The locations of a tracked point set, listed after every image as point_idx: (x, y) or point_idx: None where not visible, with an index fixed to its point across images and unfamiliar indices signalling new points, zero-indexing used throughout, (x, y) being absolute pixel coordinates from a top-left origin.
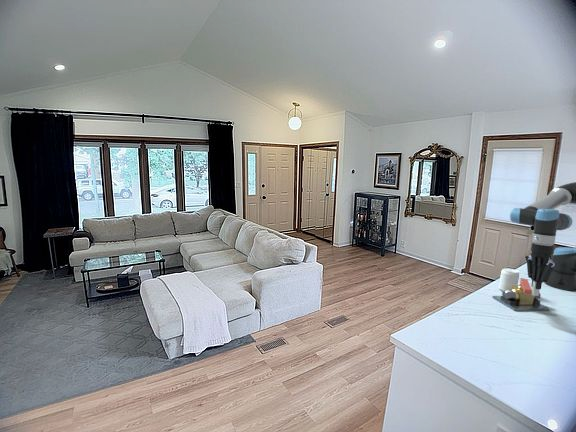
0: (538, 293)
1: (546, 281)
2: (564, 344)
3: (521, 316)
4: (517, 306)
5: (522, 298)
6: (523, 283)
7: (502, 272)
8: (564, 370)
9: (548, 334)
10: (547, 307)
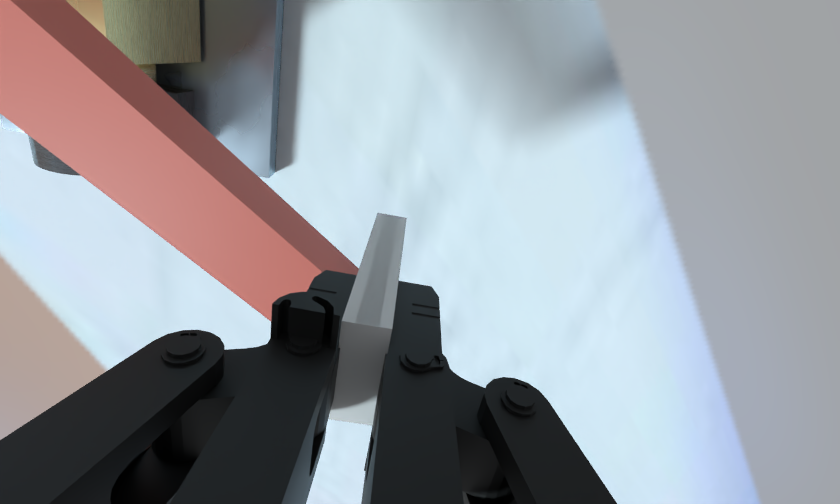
0: (403, 234)
1: (543, 417)
2: (654, 279)
3: (356, 203)
4: (231, 112)
5: (166, 37)
6: (76, 159)
7: None
8: (720, 447)
9: (565, 260)
10: None
